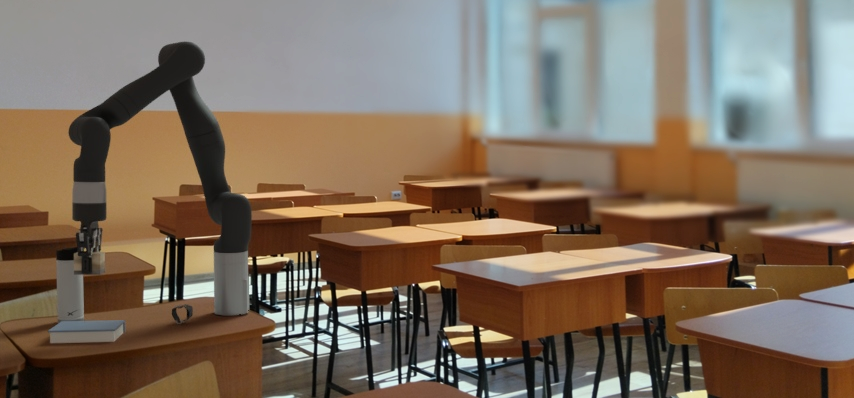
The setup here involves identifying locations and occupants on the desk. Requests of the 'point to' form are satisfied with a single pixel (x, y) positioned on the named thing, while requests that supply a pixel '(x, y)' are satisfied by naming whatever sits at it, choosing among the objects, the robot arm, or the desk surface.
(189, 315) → the wristwatch
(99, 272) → the tan wooden block
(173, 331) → the desk surface
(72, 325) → the textbook
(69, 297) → the travel mug
